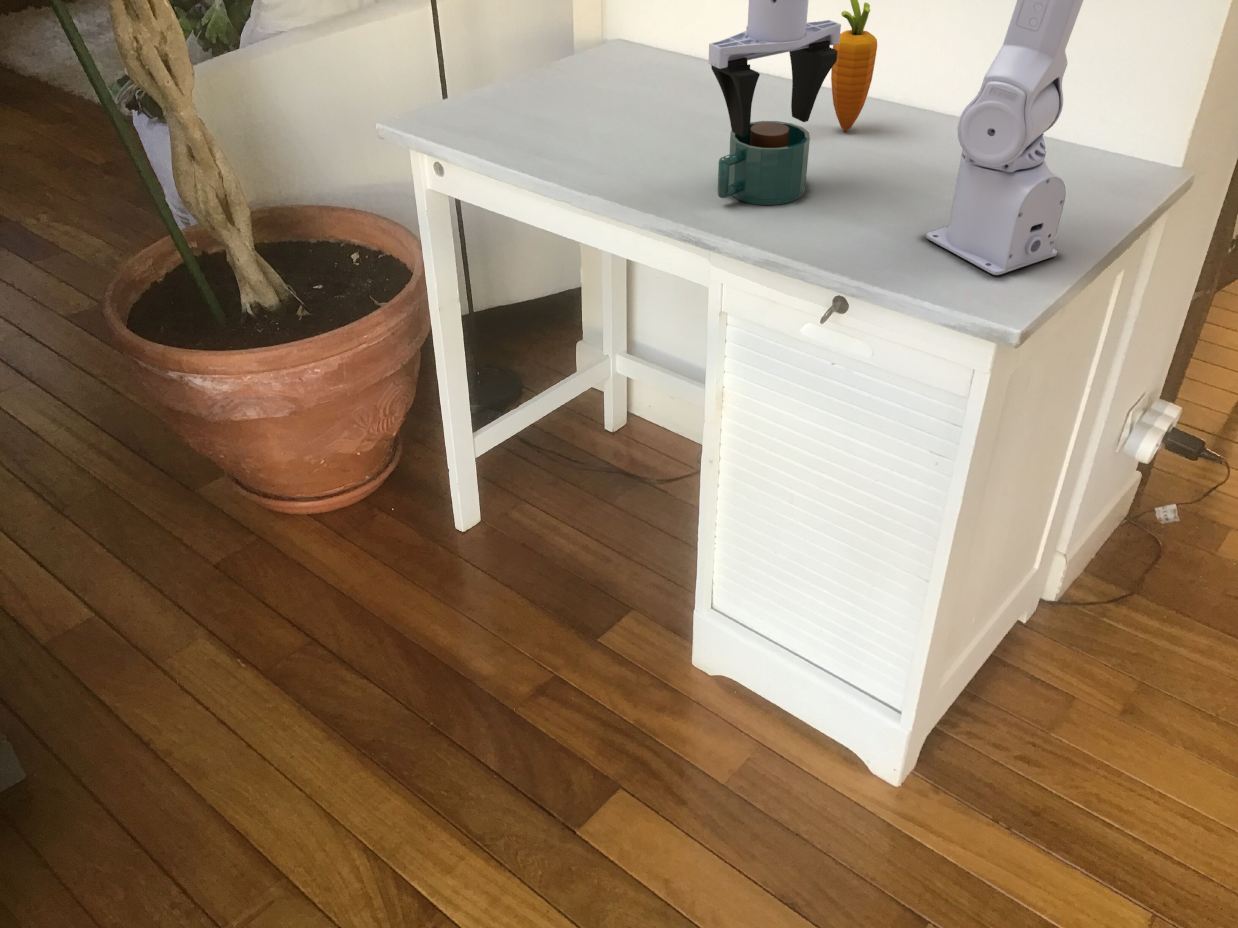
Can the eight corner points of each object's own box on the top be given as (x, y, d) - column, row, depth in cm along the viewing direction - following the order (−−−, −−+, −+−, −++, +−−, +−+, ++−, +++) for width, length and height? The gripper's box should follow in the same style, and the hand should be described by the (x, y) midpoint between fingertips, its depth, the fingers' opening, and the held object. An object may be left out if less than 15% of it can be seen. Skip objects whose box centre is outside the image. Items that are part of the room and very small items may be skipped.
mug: (766, 168, 115) (769, 115, 111) (820, 190, 110) (826, 135, 106) (692, 196, 110) (693, 141, 106) (746, 220, 104) (749, 163, 101)
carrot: (866, 139, 121) (883, 5, 112) (823, 137, 122) (836, 4, 112) (866, 124, 125) (883, -7, 115) (825, 123, 125) (838, -8, 116)
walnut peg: (792, 186, 109) (797, 131, 106) (761, 194, 108) (765, 138, 104) (770, 173, 112) (774, 119, 108) (740, 181, 111) (743, 126, 107)
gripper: (814, -33, 103) (803, 102, 111) (692, -12, 98) (690, 128, 106) (859, -19, 98) (844, 121, 107) (734, 4, 93) (728, 149, 101)
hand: (770, 126), depth 106 cm, fingers open, 7 cm apart
